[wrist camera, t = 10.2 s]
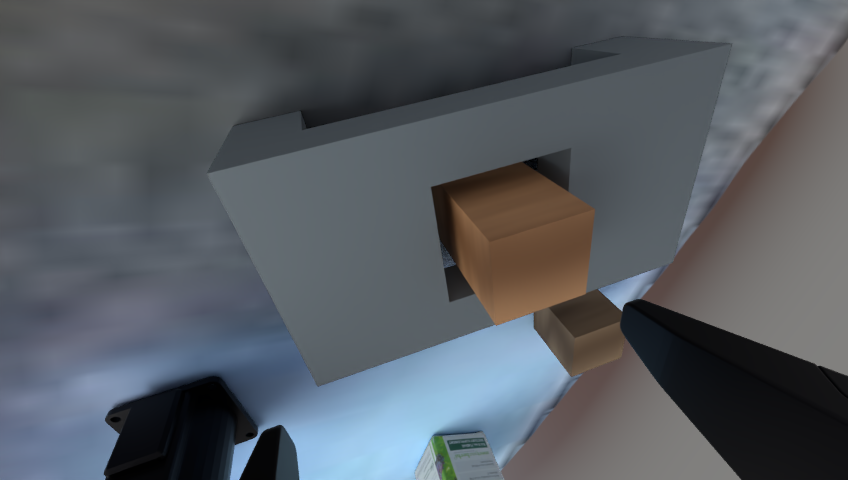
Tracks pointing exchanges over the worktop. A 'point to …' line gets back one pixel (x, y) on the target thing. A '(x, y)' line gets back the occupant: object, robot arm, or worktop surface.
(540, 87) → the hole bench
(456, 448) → the syrup box
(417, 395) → the worktop surface
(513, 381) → the worktop surface
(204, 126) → the worktop surface
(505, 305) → the long pin
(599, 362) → the short pin
